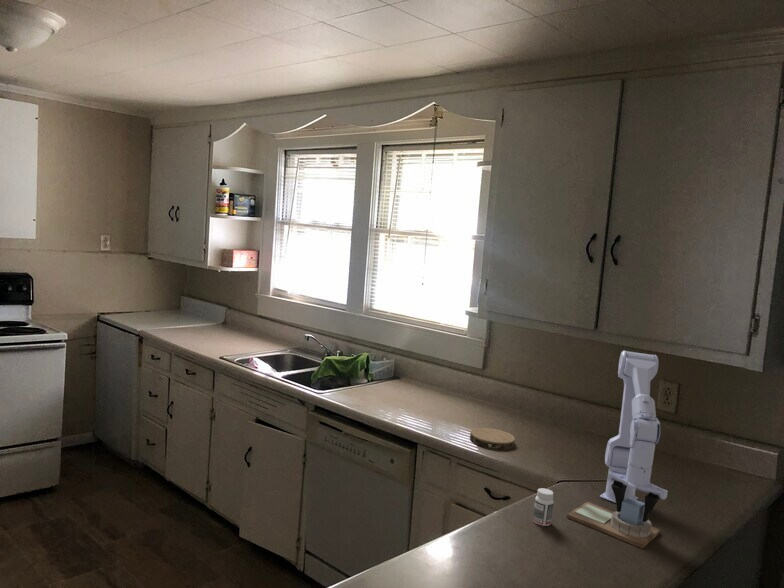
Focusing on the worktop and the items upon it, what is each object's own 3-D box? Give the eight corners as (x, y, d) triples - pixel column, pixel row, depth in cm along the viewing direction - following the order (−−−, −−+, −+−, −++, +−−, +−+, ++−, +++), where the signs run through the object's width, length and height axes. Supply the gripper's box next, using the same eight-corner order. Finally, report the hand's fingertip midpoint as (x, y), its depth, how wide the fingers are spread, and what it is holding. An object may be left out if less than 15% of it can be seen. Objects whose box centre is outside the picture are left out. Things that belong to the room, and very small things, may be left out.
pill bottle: (547, 518, 160) (552, 488, 160) (553, 527, 156) (557, 495, 155) (530, 517, 160) (534, 486, 159) (535, 525, 155) (539, 494, 155)
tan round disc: (522, 445, 220) (523, 437, 220) (498, 454, 208) (500, 445, 208) (485, 432, 230) (485, 425, 230) (461, 440, 218) (461, 432, 218)
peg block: (624, 522, 161) (628, 497, 160) (641, 529, 158) (645, 503, 157) (618, 527, 157) (622, 501, 157) (635, 534, 155) (639, 507, 154)
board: (587, 505, 172) (588, 493, 172) (659, 533, 159) (661, 520, 159) (566, 517, 162) (568, 504, 162) (642, 548, 149) (644, 534, 149)
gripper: (606, 459, 158) (599, 509, 159) (664, 478, 148) (655, 531, 150) (616, 454, 163) (609, 502, 164) (673, 471, 154) (665, 523, 155)
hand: (632, 515), depth 157 cm, fingers open, 6 cm apart
